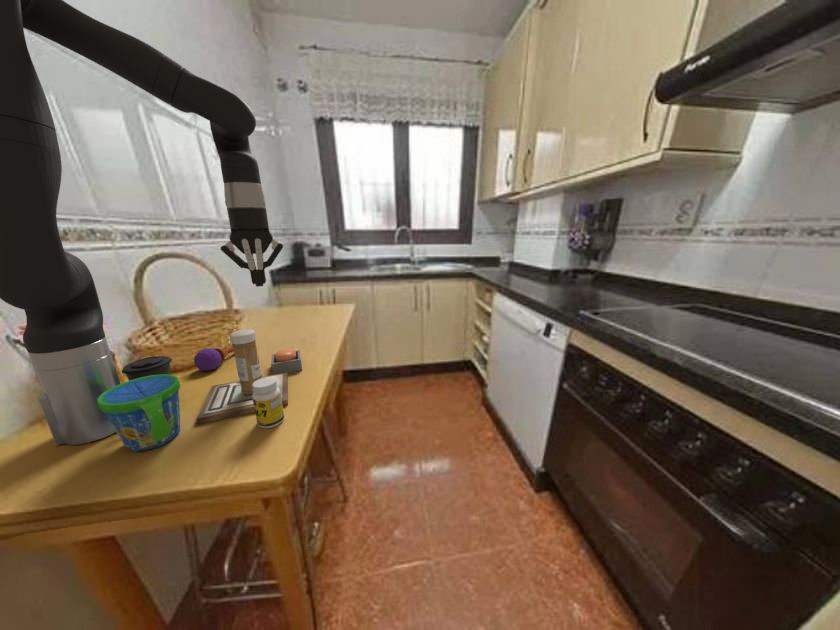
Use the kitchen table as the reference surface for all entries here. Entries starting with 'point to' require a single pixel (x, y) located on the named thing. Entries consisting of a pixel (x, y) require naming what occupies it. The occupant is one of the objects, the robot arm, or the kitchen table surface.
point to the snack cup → (144, 410)
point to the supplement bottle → (267, 403)
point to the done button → (285, 355)
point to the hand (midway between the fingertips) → (259, 285)
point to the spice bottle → (246, 359)
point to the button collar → (286, 365)
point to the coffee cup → (147, 367)
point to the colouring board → (234, 400)
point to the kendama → (210, 358)
